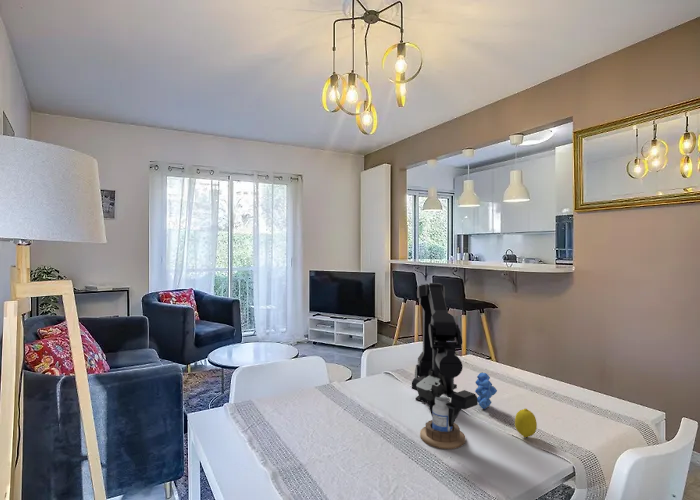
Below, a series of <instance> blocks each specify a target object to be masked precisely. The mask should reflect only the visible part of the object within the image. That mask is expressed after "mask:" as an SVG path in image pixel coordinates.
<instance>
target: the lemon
mask: <svg viewBox="0 0 700 500" xmlns="http://www.w3.org/2000/svg"><path fill="white" fill-rule="evenodd" d="M514 418H515V419H514V426H515V428H516V431H517V433H518V434H519V435H520V436H523V437H524V438H525V437H527V438H528V437H531V436H533V435H535V433H536V431H537V427H538V422H537V417H536V416H535V414H534V413H533V412H532V411H531V410H529V409H528V408H523V409H520V410H518V411H517V412H516V414H515V417H514Z"/></svg>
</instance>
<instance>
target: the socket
mask: <svg viewBox="0 0 700 500" xmlns="http://www.w3.org/2000/svg"><path fill="white" fill-rule="evenodd" d="M419 433H420V434H419V437H420V438H419V439H421V441H422V442H423V443H425V444H426V445H427V446H430V447H433V448H436V449H439V450H440V449H441V450H453V449H454V450H455V449H458V448H462V447H463V446H464V445H465V444H466V435H465V433H464V432H463V431H462V430H461V428H460V426H459V424H457V423H456V422H454V424H453V426H452V431H450V432H440V431H436V430H434V429H433V428H432V419H430V420H428V421H427V422H426V423H425V426H424V427H422V428H421V429H420V432H419Z"/></svg>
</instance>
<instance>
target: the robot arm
mask: <svg viewBox="0 0 700 500" xmlns="http://www.w3.org/2000/svg"><path fill="white" fill-rule="evenodd" d="M445 292H446V289H445V285H443V284H442V283H439V282H428V283H425V284H420V285H419V286H417V289H416V297H417V299H418V303H419V304H420V306H421V308H422V310H423V313H422V315H423V316H422V351H421V353H420V355H419V356H418V358H417V364H416V365H415V369H414V378H413V379H412V381H411V389H412V390H413V391H417V394H418V395H417V396H416V397H415V398H414V399H415V400H416V401H420V402H424V403H427V405H428V409H429V410H430V411H429V412H430V415H431V416H432V408H433V406H434V405H435V397H440V396H446V397H448V398H449V399H450V402H449V403H447V404H446V406H447V407H448V409H449V426H450V427H451V426H453V424H454V423H456V420H457V418H458V415H459V414H460V412H461V411H462V410H467V409H470V408H472V407H475V406H479V403H478V395H477V394H476V393H473V392H471V391H468V390H466V389H464V390H461V391H455V390H456V389H458V388H457V386H458V385H457V383H456V384H455V378H457V377H458V376H459V375H460V374H461V373H462V371H463V363H462V360H461V359H460V358H459V356H458V355H457V353H456V352H457V351H456V349H457V350H459V349H460V350H461V349H462V345H463V337H462V333H461V328H460V327H459V324H458V323H457V322H456V319H455V317H454V315H452V314H451V313H449V311H448V308H447V305H446V299H445V298H446V293H445Z"/></svg>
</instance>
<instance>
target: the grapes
mask: <svg viewBox="0 0 700 500" xmlns="http://www.w3.org/2000/svg"><path fill="white" fill-rule="evenodd" d="M476 377H477V379H476V381H475V384H476V386H477V388H476V389H475V391H474V392H475V394H476V396H477V398H478V406H479V407H480V408H481V409H482V408H483V410H486V409H487V408H489V407H490V405H491V404H492V400H491V398H492V397H493V396H494V395H495V394H497V392H498V390H497V388H496V387H495V386H493V383H492V382H491V380H490V379H491V378H490V376H489V374H488V373H486V372H480V373H479V374H477V376H476Z"/></svg>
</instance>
